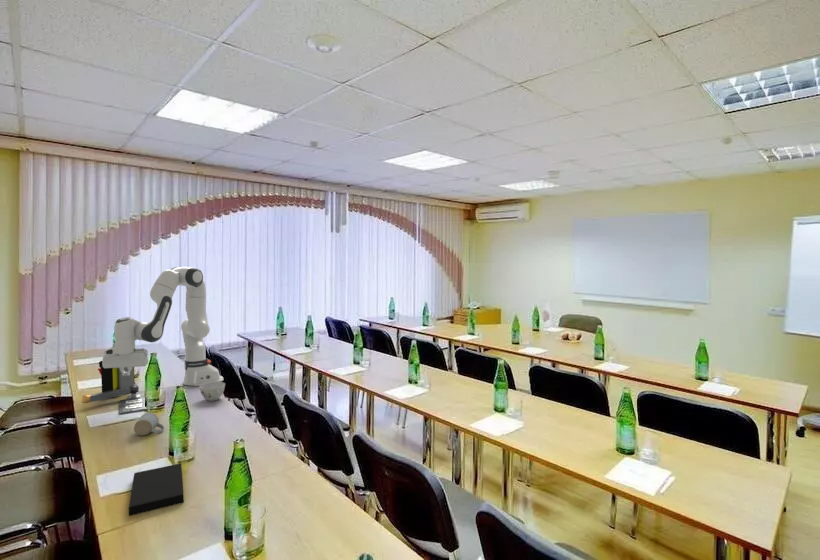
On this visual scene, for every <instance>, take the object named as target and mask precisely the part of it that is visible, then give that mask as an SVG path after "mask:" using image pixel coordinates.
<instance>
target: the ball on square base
mask: <svg viewBox="0 0 820 560" xmlns="http://www.w3.org/2000/svg"><path fill="white" fill-rule="evenodd" d="M140 397H141V394H140V393H139V394H137V393H131V394H129V395H127V396H126V399H133V398H140Z"/></svg>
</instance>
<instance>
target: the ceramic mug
mask: <svg viewBox="0 0 820 560" xmlns="http://www.w3.org/2000/svg"><path fill="white" fill-rule="evenodd" d="M159 422H160V419H159V417H158V416H157V414H156V413H154V412H146V413H144V414H141V416H140V417H139V418H138V420H136V422H135V424H134V426H133V430H134V431H133V432H135V434H136V435H138V436H140V437H141V436H144V437H145V436H147V435H149V434H150V433H155V434H160V433H163V432H164V430H165V427H164V425H163V424H161V423H159ZM157 427H158V428H160V429H156V428H157Z"/></svg>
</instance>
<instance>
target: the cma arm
mask: <svg viewBox="0 0 820 560" xmlns="http://www.w3.org/2000/svg"><path fill="white" fill-rule="evenodd" d="M131 393H136V394H137V393H139V385H137V386H130V387H126V388H121V389H116V390H111V391H106V392H102V391H101V392H98V393H93V394H85V395H82V397H81V398H82V399H81V400H82V401H81V402H82V404H88V403H92V402H97V401H103V400H107V399H113V398H112V397H115V398H116V397H120V396H126V395H131Z"/></svg>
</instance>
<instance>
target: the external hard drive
mask: <svg viewBox="0 0 820 560" xmlns="http://www.w3.org/2000/svg"><path fill="white" fill-rule="evenodd" d="M182 467H183V466H182V463H177V464H172V465H167V466H161V467H157V468H152V469H148V470H143V471H137V472H134V473H133V479H132V486H131V492H130V498H129V499H130V500H129V504H128V516H129V517H130V516H134V515H138V514H143V513H147V512H150V511H154V510H158V509H163V508H168V507H171V506H176V505H179V504H183V503H185V502H184V499H185V498H184V495H185V494H184V484H183V483H184V481H183V472H182V471H183V469H182Z"/></svg>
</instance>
